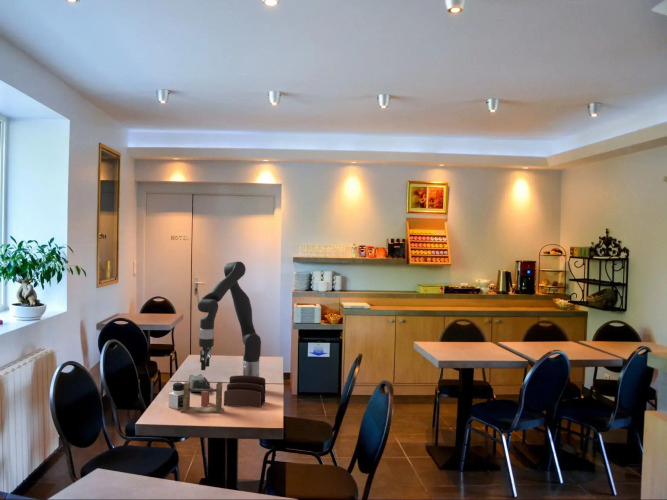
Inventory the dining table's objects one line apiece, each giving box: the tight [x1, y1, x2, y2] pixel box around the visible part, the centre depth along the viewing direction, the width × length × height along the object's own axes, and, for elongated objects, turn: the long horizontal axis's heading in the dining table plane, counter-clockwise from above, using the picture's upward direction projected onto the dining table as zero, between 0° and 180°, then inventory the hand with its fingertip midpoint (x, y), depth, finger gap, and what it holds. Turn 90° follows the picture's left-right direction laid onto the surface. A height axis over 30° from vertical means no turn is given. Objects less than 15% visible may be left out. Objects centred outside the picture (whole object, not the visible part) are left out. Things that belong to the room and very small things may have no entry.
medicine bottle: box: [168, 381, 185, 410], centre depth 263 cm, size 7×7×12 cm
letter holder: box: [223, 374, 266, 408], centre depth 270 cm, size 10×20×14 cm, turn 84°
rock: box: [188, 373, 211, 393], centre depth 294 cm, size 18×11×8 cm, turn 25°
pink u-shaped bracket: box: [200, 391, 210, 407], centre depth 267 cm, size 3×6×7 cm, turn 2°
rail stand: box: [180, 380, 225, 414], centre depth 256 cm, size 20×6×14 cm, turn 92°
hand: (205, 368), depth 268 cm, fingers open, 8 cm apart
